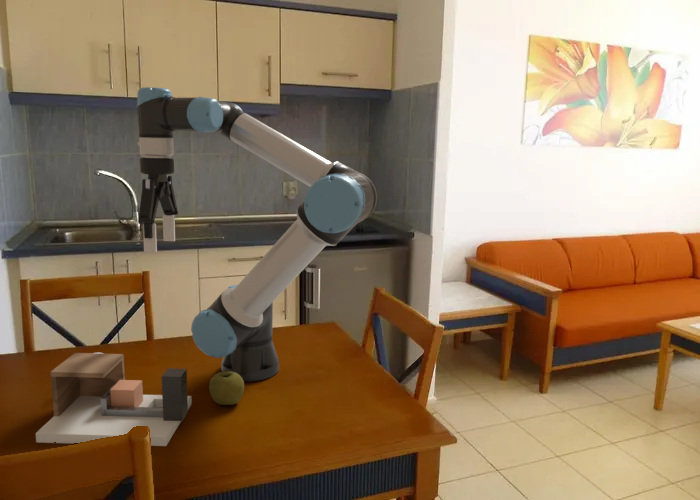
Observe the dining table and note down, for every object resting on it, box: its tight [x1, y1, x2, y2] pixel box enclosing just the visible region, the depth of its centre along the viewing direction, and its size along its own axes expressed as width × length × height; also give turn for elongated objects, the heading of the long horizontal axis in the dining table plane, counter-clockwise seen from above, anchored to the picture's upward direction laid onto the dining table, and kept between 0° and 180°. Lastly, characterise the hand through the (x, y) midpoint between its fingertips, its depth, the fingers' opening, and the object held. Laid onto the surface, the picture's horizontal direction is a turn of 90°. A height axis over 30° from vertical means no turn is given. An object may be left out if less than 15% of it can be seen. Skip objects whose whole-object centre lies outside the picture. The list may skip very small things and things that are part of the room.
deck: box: [35, 394, 193, 447], centre depth 120 cm, size 26×18×2 cm
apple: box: [209, 371, 245, 406], centre depth 129 cm, size 8×8×7 cm
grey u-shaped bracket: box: [100, 367, 189, 422], centre depth 120 cm, size 18×8×10 cm, turn 90°
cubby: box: [50, 352, 126, 417], centre depth 122 cm, size 11×10×10 cm
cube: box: [110, 379, 144, 407], centre depth 122 cm, size 5×5×5 cm
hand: (160, 246), depth 134 cm, fingers open, 13 cm apart
